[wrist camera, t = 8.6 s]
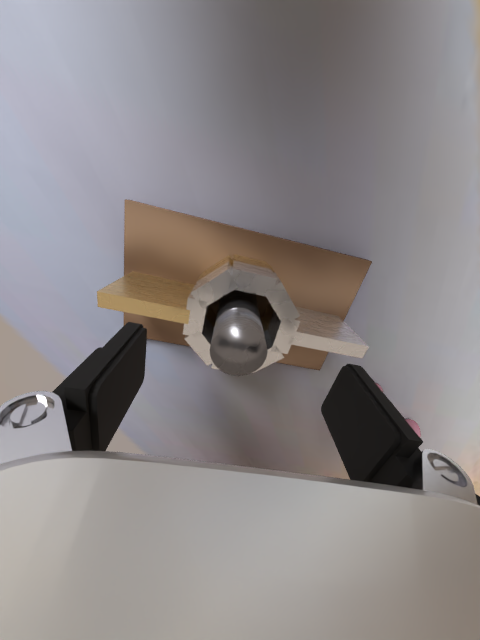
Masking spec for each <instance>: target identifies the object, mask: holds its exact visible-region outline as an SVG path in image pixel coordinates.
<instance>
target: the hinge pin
mask: <svg viewBox="0 0 480 640" xmlns="http://www.w3.org/2000/svg"><path fill="white" fill-rule="evenodd" d="M267 352H268V351H267V344H266V340H265V335H264V331H263V327H262V322H261V318H260V313H259V309H258V305H257V300H256V296H255V294H252V293H247V292H242V291H238V290H233V291H231V292H229V293H228V294H226V295H224V296H223V297H221V299H220V303H219V308H218V313H217V317H216V322H215V327H214V331H213V336H212V340H211V345H210V357H211V360H212V362H213V363H214V365H215V366H216V367H217V368H218V369H220V370H221V371H223V372H225V373H227V374H230V375H238V376H240V375H247V374H250V373H252V372H254V371H256V370H257V369H259V368H260V367H261V366H262V365H263V363H264V362H265V360H266V357H267Z"/></svg>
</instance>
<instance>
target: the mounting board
mask: <svg viewBox="0 0 480 640" xmlns="http://www.w3.org/2000/svg"><path fill="white" fill-rule="evenodd" d="M234 254H235V255H239V256H244V257H248V258H252V259H256V260H260V261H265V262H267V264H268V265H270V266H271V267H272V269H273V270H274V272H275V273H276V275H277V276H278V278H279V279H280V281H281V282H282V284H283V286H284V288H285V290H286V291H287V293H288V295H289V297H290V299H291V300H292V302H293V304H294V306H295V307H300V308H304V309H309V310H313V311H318V312H323V313H327V314H332V315H336V316H339V317H340V318H341V319H342V320H343V321H344V319H345V317H346V315H347V313H348V310H349V308H350V306H351V304H352V302H353V300H354V298H355V296H356V294H357V292H358V290H359V288H360V286H361V284H362V281H363V279H364V277H365V275H366V273H367V271H368V269H369V267H370V265H371V263H372V262H371V261H369V260H366V259H362V258H358V257H354V256H350V255H346V254H342V253H338V252H334V251H330V250H326V249H322V248H318V247H314V246H310V245H306V244H302V243H298V242H295V241H291V240H287V239H283V238H279V237H275V236H271V235H267V234H263V233H259V232H255V231H251V230H247V229H243V228H239V227H235V226H231V225H227V224H223V223H219V222H215V221H211V220H207V219H203V218H199V217H195V216H191V215H187V214H183V213H179V212H175V211H172V210H168V209H164V208H160V207H156V206H152V205H148V204H144V203H140V202H136V201H132V200H125V233H124V276H125V275H127V274H129V273H131V272H132V271H133V272H138V273H143V274H147V275H152V276H156V277H161V278H166V279H170V280H175V281H179V282H184V283H189V284H193V285H195V284H196V282H197V281H198V279H199V277H200V276H201V274H202V273H203V272H204V271H206V270H207V269H209V268H210V267H212V266H213V265H215V264H216V263H218V262H219V261H221V260H223V259H224V258H226V257H227V256H229V255H230V257H231V258H232V260H233V257H234ZM255 296H256V300H257V305H258V309H259V313H260V318H262V317H263V316H264V314H265V311H266V307H267V304H268V299H267V297H265V296H261V295H256V294H255ZM220 299H221V298H220ZM220 299H218V300H216V301H215V302H213V303H211V304H210V306H211V307H212V309H213V310H214V311H215V313H216V314H217V313H218V308H219V303H220ZM128 322H133V323H138V324H142V325H143V328H146V329H147V339H152V340H158V341H163V342H169V343H174V344H180V345H185V346H190V345H189V344H188V343H187V342H186V340H185V339H184V338H185V336H186V335H184V334H183V329H184V323H179V322H174V321H168V320H163V319H158V318H153V317H148V316H143V315H138V314H133V313H127V312H124V325H125V324H126V323H128ZM190 347H191V346H190ZM327 354H328V352H327V351H322V350H317V349H312V348H307V347H301V346H296V345H291V347H290V349H289V352H288V354H284V353H283V355H284V358H283V359H281V360H279V361H277V363H283V364H288V365H294V366H299V367H304V368H310V369H315V370H320V368H321V366H322V364H323V362H324V360H325V358H326V356H327Z"/></svg>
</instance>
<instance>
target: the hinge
mask: <svg viewBox="0 0 480 640" xmlns="http://www.w3.org/2000/svg"><path fill="white" fill-rule="evenodd" d="M233 290H238V291H242V292H247V293H252V294H256V295H261V296H265V297H267V299H268V304H267V307H266V311H265V314H264V316H263V317H262V318H261V322H262V327H263V331H264V335H265V340H266V344H267V351H268V352H267V357H266V360H265V362H264V363H263V365H262V366H261V367H260V368H259V369H257V370H256V371H258V370H260V369H262V368H264V367H266V366H268V365H271V364H273V363H275V362H277V361H279V360H281V359H283V358H284V355H283V353H284V354H288V352H289V349H290V347H291V345H296V346H301V347H307V348H312V349H317V350H322V351H327V352H332V353H337V354H342V355H348V356H353V357H358V358H363V356H364V355H365V353H366V351H367V349H368V348H369V346H368V345H367V344H366V343H365V342H364V341H363V340H362V339H361V338H360V337H359V336H358V335H357V334H356V333H355V332H354V331H353V330H352V329H351V328H350V327H349V326H348V325H347V324H346V323H345V322H344V321H343V320H342V319H341V318H340V317H339V316H336V315H332V314H327V313H323V312H318V311H313V310H309V309H304V308H300V307H295V306H294V304H293V302H292V300H291V299H290V297H289V295H288V293H287V291H286V290H285V288H284V286H283V284H282V282H281V281H280V279H279V278H278V276H277V275H276V273H275V272H274V270H273V269H272V267H271V266H270V265H268V264H267V262H265V261H260V260H256V259H252V258H248V257H244V256H239V255H235V254H234V257H233V260H232V258H231V257H230V255H229V256H227V257H226V258H224V259H223V260H221V261H219V262H218V263H216V264H215V265H213V266H212V267H210V268H209V269H207V270H206V271H204V272H203V273H202V274H201V276H200V277H199V279H198V281H197V282H196V284H195V285H193V284H189V283H184V282H179V281H175V280H170V279H166V278H161V277H156V276H152V275H147V274H143V273H138V272H133V271H132V272H131V273H129V274H127V275H125V276H124V277H122V278H120V279H118V280H116V281H115V282H113V283H111V284H109V285H108V286H106V287H104V288H102V289H101V290H99V291H97V299H98V307H102V308H107V309H112V310H117V311H122V312H127V313H133V314H138V315H143V316H148V317H153V318H158V319H163V320H168V321H174V322H179V323H184V329H183V334H184V335H186V336H185V338H184V339H185V340H186V342H187V343H188V344H189V345H190V346H191V347H192V349H193V350H194V351H195V352H196V353H197V354H198V356H199V357H200V358H201V359H202V360H203V361H204V363H205V364H206V365H207V366H208V365H210V364H212V368H213V369H218V368H217V367H216V366H215V365H214V363H213V362H212V360H211V357H210V345H211V340H212V336H213V331H214V327H215V322H216V317H217V314H216V313H215V311H214V310H213V309H212V307H211V306H210V304H211V303H213V302H215V301H216V300H218V299H220V298H221V297H223V296H224V295H226V294H228V293H229V292H231V291H233ZM219 370H220V369H219ZM256 371H254V372H256ZM254 372H252V373H254Z"/></svg>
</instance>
